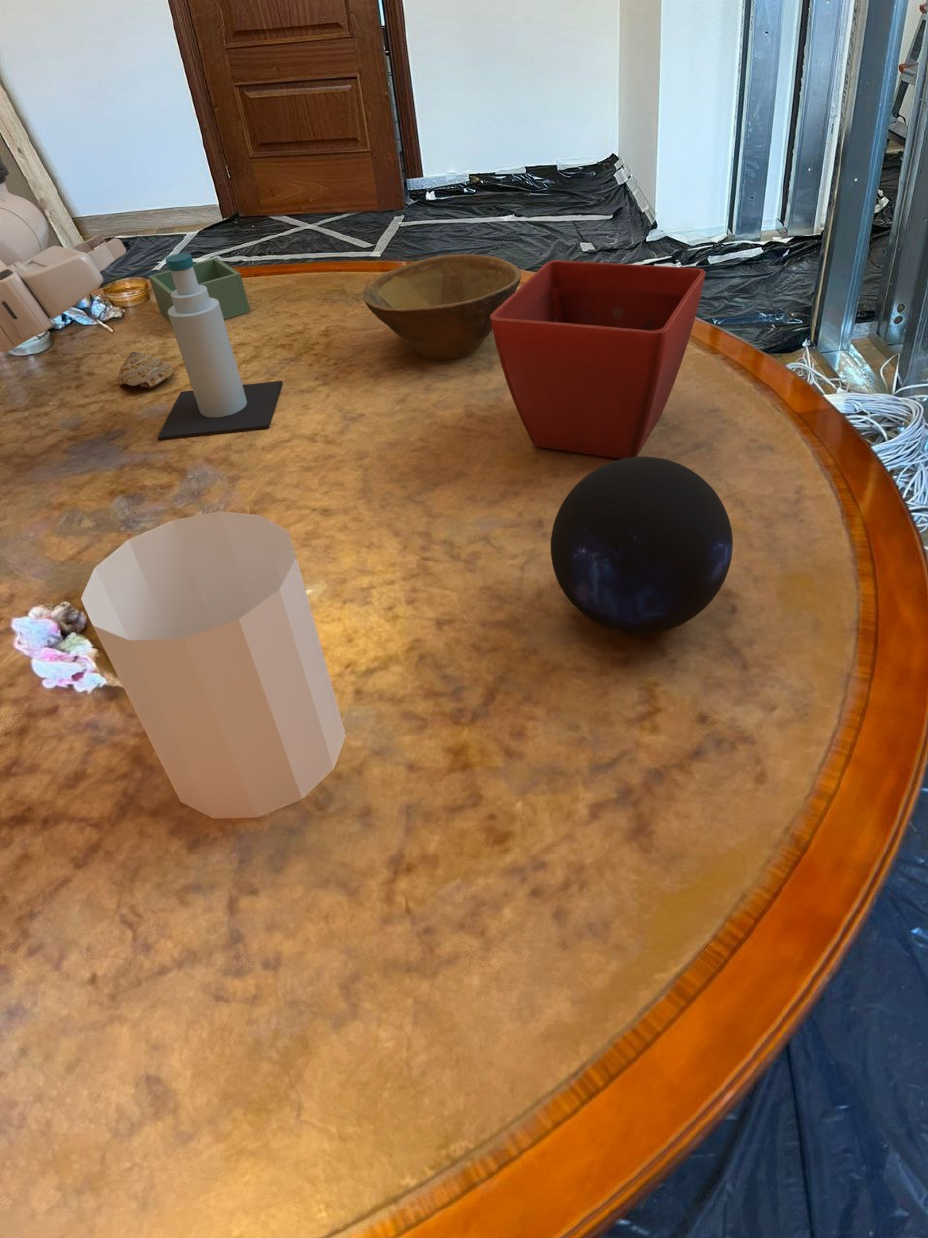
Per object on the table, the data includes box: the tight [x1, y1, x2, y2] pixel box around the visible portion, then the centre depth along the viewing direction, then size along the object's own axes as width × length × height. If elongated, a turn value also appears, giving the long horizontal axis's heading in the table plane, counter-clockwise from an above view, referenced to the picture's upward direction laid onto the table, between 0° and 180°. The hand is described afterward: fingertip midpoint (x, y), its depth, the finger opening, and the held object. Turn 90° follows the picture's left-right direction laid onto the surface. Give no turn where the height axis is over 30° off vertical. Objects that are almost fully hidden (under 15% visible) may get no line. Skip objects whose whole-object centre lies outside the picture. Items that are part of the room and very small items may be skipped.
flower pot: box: [490, 259, 706, 460], centre depth 99 cm, size 19×19×17 cm
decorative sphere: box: [550, 456, 734, 635], centre depth 73 cm, size 15×15×15 cm
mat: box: [157, 380, 283, 441], centre depth 119 cm, size 15×14×1 cm
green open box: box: [148, 257, 252, 323], centre depth 149 cm, size 13×13×7 cm
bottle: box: [165, 252, 247, 418], centre depth 113 cm, size 7×7×20 cm
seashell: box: [117, 351, 175, 389], centre depth 129 cm, size 8×6×8 cm
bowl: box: [362, 253, 522, 361], centre depth 126 cm, size 22×23×10 cm
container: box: [80, 510, 347, 819], centre depth 64 cm, size 14×14×18 cm
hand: (112, 242), depth 104 cm, fingers open, 8 cm apart
